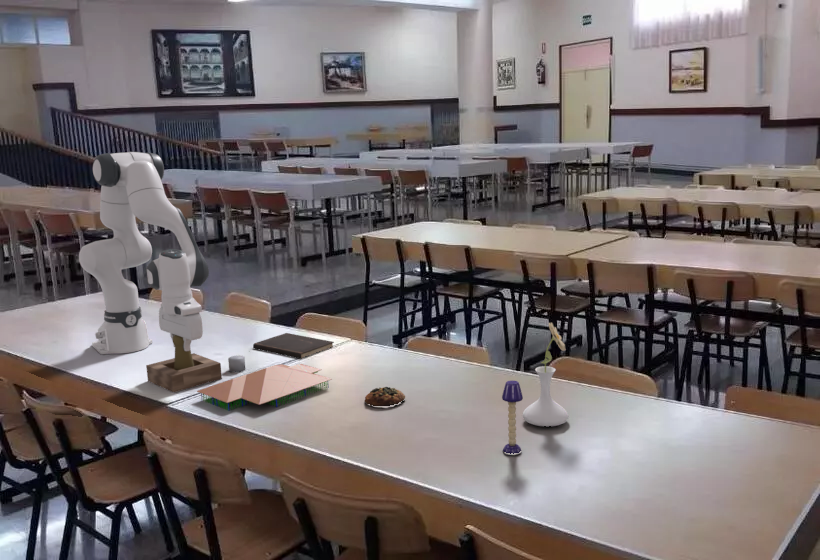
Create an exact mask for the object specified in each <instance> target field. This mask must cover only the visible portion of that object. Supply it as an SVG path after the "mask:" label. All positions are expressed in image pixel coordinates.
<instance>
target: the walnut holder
mask: <svg viewBox="0 0 820 560" xmlns="http://www.w3.org/2000/svg"><path fill="white" fill-rule="evenodd" d="M191 354H192V358H193V363H194V366H193V367H189V368H186V369H182V370H178V371H176V370H174V362H175V357H173V358H170V359H166V360H162V361H159V362H158V361H157V362H154V363H149V364H146V375H147V376H146V377H147V382H149V381H150V383H151V382H152V384H153V383H154V384H153V385H156V386H158V387H160V386H161V387H160V388H162V387H163V389H164V388H165V389H164V390H167V391H169V392H171V393H173V392H174V393H177V392H180V391H184V390H187V389H190V388H194V387H197V386H201V385H205V384H209V383H212V382H216V381H219V380H222V379H223V376H222V375H223V374H222V365H221V362H219V361H216V360H213V359H210V358H208V357H205V356H202V355H199V354H197V353H195V352H194V353H191Z"/></svg>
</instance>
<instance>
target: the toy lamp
mask: <svg viewBox="0 0 820 560" xmlns="http://www.w3.org/2000/svg"><path fill="white" fill-rule="evenodd" d="M501 399H502V401H504V402H507V404H508V406H507V411H508V415H507V416H508V417H507V418H508V419H507V422H508V423H507V424H508V427H507V429H508V443H507V444H505V445H504V446H503V450H502V452H503V451H504V452H506V453H510V454H511V453H513V454H514V453H519V452H520V451H522V448H521V446H520V445H519V444H517V432H516V430H517V426H516V425H517V420H516V418H517V413H516V411H517V408H516V406H517V403H519V402H521V401H523V392H522V390H521V385H520V382H519V381H517V380H507V381H506V382H505V384H504V387H503V392H502V395H501Z"/></svg>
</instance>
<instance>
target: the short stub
mask: <svg viewBox="0 0 820 560" xmlns="http://www.w3.org/2000/svg"><path fill="white" fill-rule="evenodd" d="M227 360H228V370H229V372H230V373H241V371H242V372H244V371H245V370H246V360H245V356H244V355H239V354H238V355H231V356H229V357H228V359H227Z"/></svg>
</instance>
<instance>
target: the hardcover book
mask: <svg viewBox="0 0 820 560" xmlns="http://www.w3.org/2000/svg"><path fill="white" fill-rule="evenodd" d="M334 343H335V342H334V341H330V340H326V339H320V338H315V337H310V336H304V335H299V334H295V333H289V332H285V333H281V334H279V335H276V336H273V337H269V338H266V339H263V340H259V341H256V342H255V343H253V345H252V346H253V347H252V348H255V349H254V350H258V349H260V350H259V351H262V350H264V351H263V352H267V351H268V352H267V353H272V354H276V353H278V355H281V354H282V355H281V356H285V355H287V357H290V356H291V358H295V357H296V358H295V359H299V358H301V359H303V357H304V358H306V357H305V356H307V357H309V356H311V354H312V355H314V353H315V354H316V352H318V353H319V351H320V352H323V351H325V349H326V350H328V349H327V348H329V349H330V347H331V348H333V347H334V346H333V344H334ZM322 350H323V351H322ZM308 355H309V356H308Z"/></svg>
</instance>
